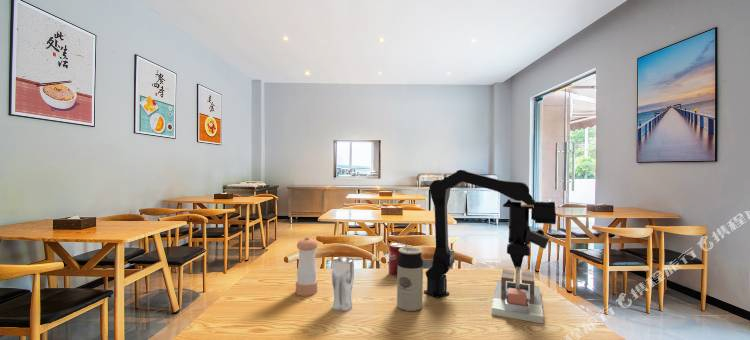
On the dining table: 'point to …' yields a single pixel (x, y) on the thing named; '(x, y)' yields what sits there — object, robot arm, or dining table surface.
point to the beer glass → (342, 282)
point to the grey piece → (513, 306)
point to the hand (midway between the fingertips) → (518, 271)
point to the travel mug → (410, 279)
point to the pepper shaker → (306, 268)
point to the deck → (533, 315)
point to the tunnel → (509, 276)
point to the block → (517, 296)
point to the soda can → (394, 257)
